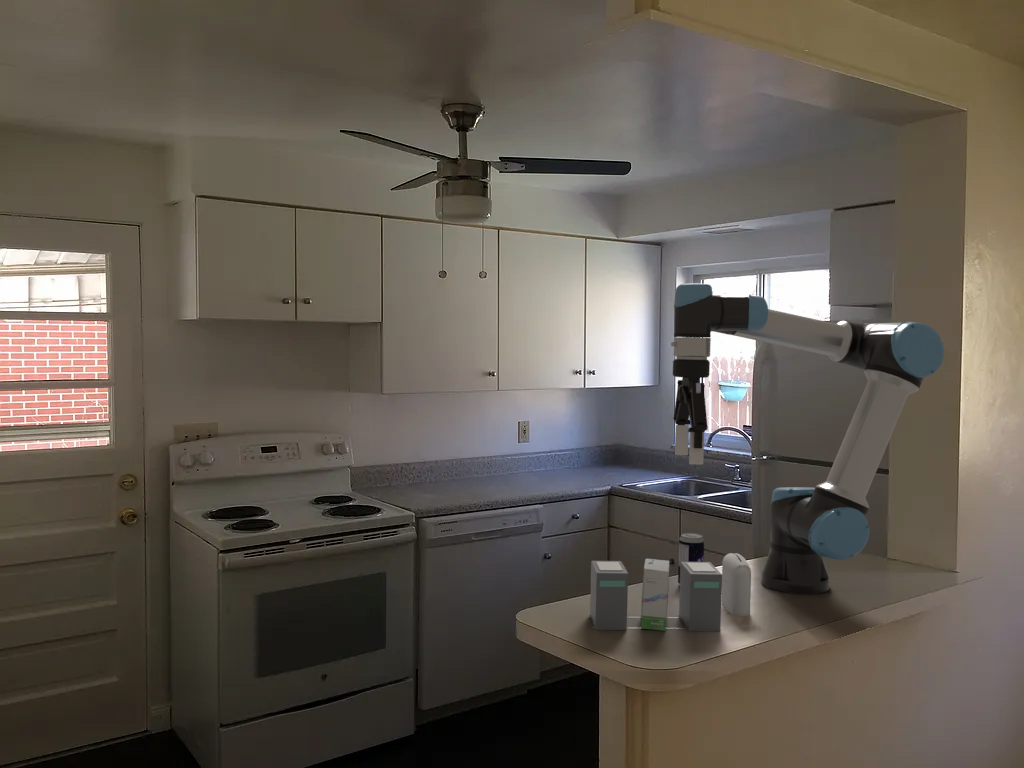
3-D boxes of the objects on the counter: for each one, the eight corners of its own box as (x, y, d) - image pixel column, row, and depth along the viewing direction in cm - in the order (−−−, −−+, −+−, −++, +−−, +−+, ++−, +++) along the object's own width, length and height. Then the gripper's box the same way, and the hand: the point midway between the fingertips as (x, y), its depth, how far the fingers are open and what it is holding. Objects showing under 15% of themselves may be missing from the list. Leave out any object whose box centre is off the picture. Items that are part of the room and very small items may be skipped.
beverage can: (698, 591, 193) (700, 539, 193) (674, 587, 196) (675, 535, 196) (706, 585, 198) (707, 534, 198) (682, 581, 201) (683, 531, 200)
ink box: (641, 615, 172) (643, 557, 172) (667, 617, 171) (669, 559, 171) (640, 629, 164) (641, 568, 163) (667, 631, 163) (669, 570, 162)
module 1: (619, 614, 172) (621, 560, 172) (626, 630, 163) (628, 572, 162) (590, 614, 172) (591, 559, 172) (595, 630, 163) (596, 572, 162)
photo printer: (718, 605, 184) (720, 548, 183) (738, 605, 184) (740, 549, 183) (731, 621, 173) (733, 561, 173) (752, 621, 173) (754, 561, 173)
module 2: (708, 615, 173) (710, 561, 172) (720, 631, 163) (722, 573, 163) (679, 615, 173) (680, 560, 172) (689, 631, 163) (691, 573, 163)
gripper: (661, 356, 191) (659, 451, 192) (686, 359, 166) (683, 468, 167) (695, 357, 191) (692, 451, 192) (725, 360, 166) (722, 468, 167)
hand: (688, 459), depth 179 cm, fingers open, 13 cm apart
